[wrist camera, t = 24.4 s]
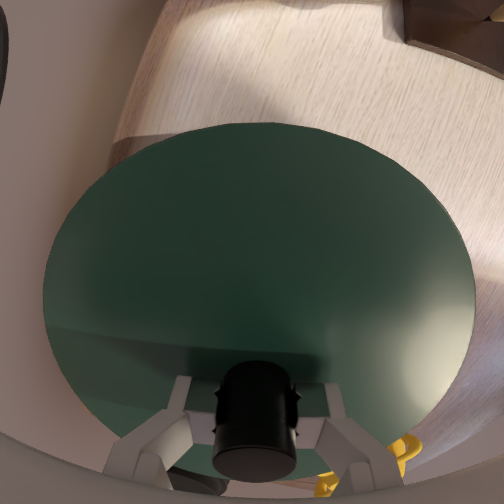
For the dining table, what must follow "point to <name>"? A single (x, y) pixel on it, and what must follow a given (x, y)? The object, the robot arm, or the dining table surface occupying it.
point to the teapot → (395, 448)
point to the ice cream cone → (496, 15)
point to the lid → (259, 290)
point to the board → (457, 31)
